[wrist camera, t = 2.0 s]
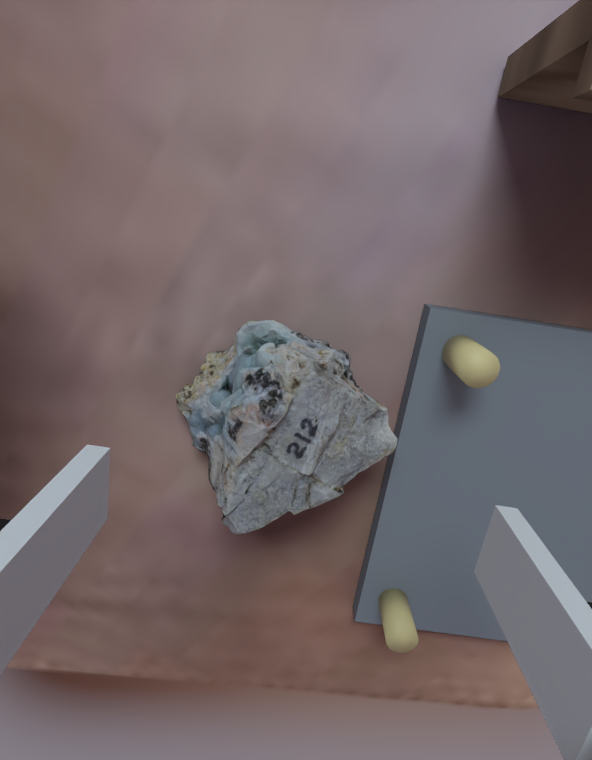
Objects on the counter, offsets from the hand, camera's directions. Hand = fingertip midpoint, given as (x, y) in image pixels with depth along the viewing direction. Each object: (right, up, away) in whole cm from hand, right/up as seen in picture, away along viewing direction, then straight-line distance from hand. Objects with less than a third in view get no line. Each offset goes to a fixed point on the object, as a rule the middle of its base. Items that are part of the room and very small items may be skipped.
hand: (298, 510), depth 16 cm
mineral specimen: (-1, +3, +11) cm, 11 cm away
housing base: (+14, -2, +12) cm, 19 cm away
